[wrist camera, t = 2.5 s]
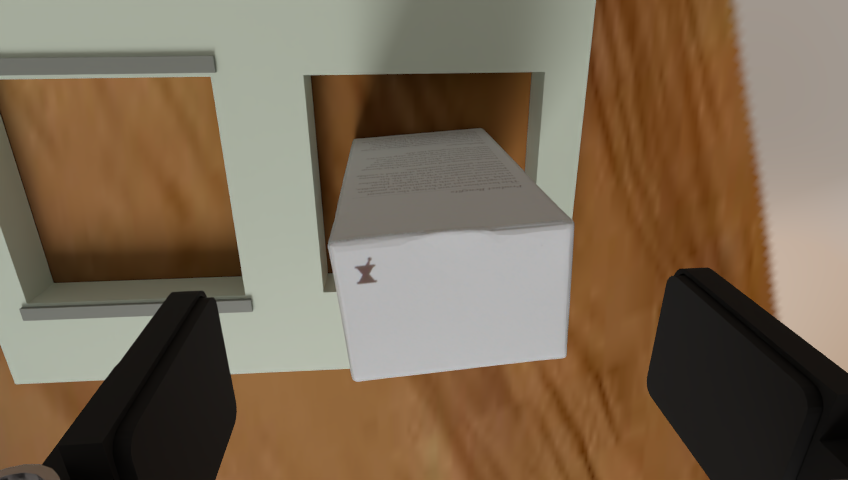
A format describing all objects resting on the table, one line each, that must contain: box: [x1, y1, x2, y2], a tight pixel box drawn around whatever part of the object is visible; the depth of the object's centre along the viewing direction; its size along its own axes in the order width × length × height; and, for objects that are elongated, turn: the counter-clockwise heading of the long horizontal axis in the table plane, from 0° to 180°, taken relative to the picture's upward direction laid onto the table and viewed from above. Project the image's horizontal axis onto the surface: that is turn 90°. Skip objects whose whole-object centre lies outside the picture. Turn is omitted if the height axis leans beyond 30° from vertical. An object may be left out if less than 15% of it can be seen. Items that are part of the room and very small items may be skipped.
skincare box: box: [328, 128, 574, 382], centre depth 18 cm, size 6×4×12 cm
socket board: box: [0, 0, 596, 384], centre depth 23 cm, size 26×18×2 cm
